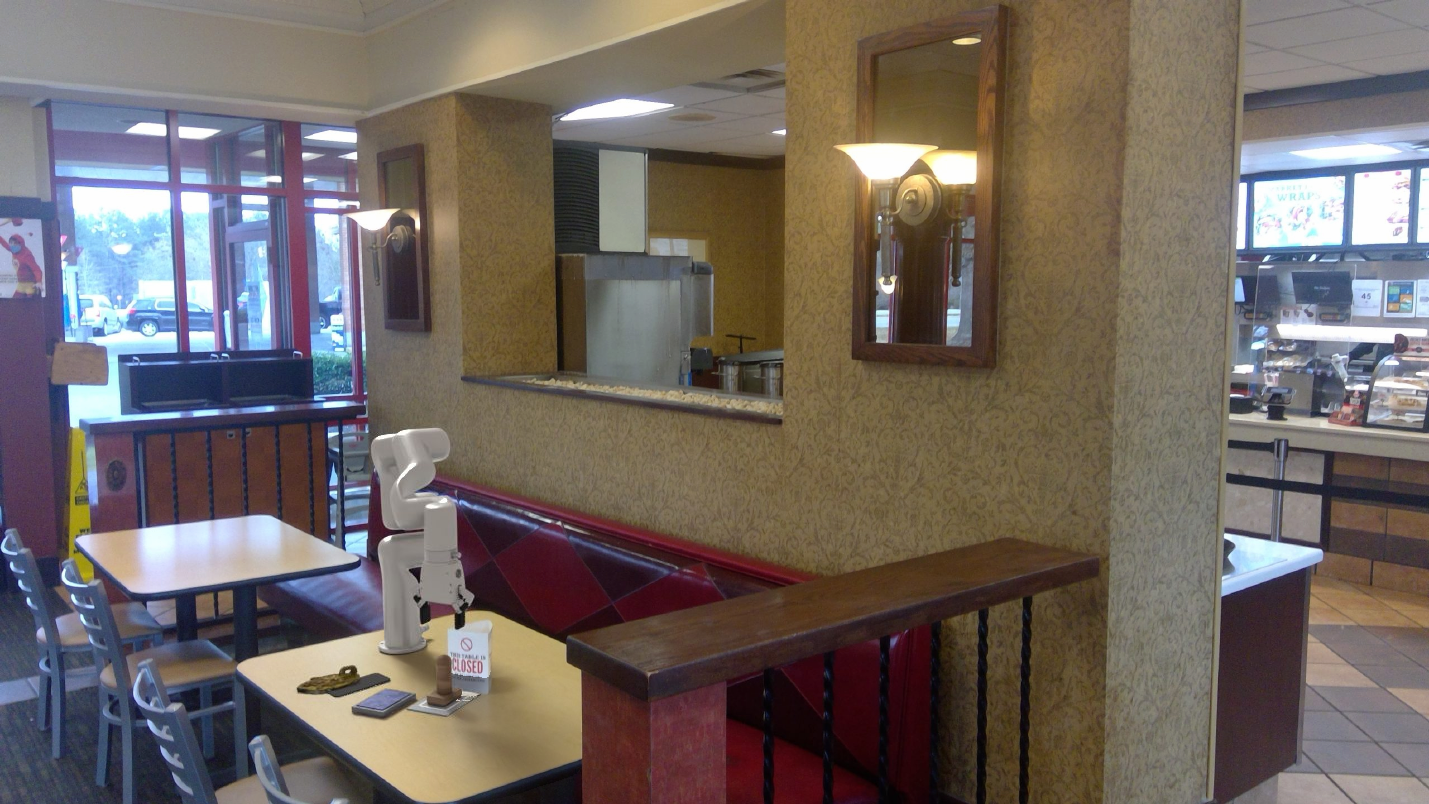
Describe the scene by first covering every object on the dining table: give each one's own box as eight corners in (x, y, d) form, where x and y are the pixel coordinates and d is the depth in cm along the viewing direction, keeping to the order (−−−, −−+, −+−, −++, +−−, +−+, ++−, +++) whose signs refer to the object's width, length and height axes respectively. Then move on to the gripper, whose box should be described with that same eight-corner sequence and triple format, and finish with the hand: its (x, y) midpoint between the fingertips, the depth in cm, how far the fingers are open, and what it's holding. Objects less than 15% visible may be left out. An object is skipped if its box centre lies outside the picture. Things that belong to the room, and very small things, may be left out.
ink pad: (385, 693, 246) (385, 687, 246) (416, 698, 243) (415, 692, 243) (351, 712, 235) (351, 705, 235) (383, 718, 232) (383, 711, 231)
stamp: (444, 693, 245) (443, 648, 244) (462, 696, 243) (461, 651, 242) (426, 704, 239) (425, 658, 237) (444, 707, 237) (443, 661, 236)
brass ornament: (302, 703, 243) (365, 688, 252) (301, 685, 242) (364, 671, 251) (292, 686, 251) (354, 673, 259) (292, 669, 250) (354, 656, 258)
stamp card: (443, 688, 250) (443, 686, 249) (481, 694, 246) (480, 692, 246) (407, 709, 236) (407, 708, 236) (446, 716, 233) (446, 715, 233)
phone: (321, 689, 248) (376, 671, 259) (321, 692, 248) (376, 675, 259) (336, 697, 243) (392, 678, 254) (336, 700, 243) (392, 682, 254)
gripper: (481, 555, 238) (482, 625, 240) (420, 547, 244) (422, 616, 246) (462, 563, 231) (464, 635, 233) (400, 555, 237) (402, 625, 239)
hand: (442, 625), depth 239 cm, fingers open, 9 cm apart
